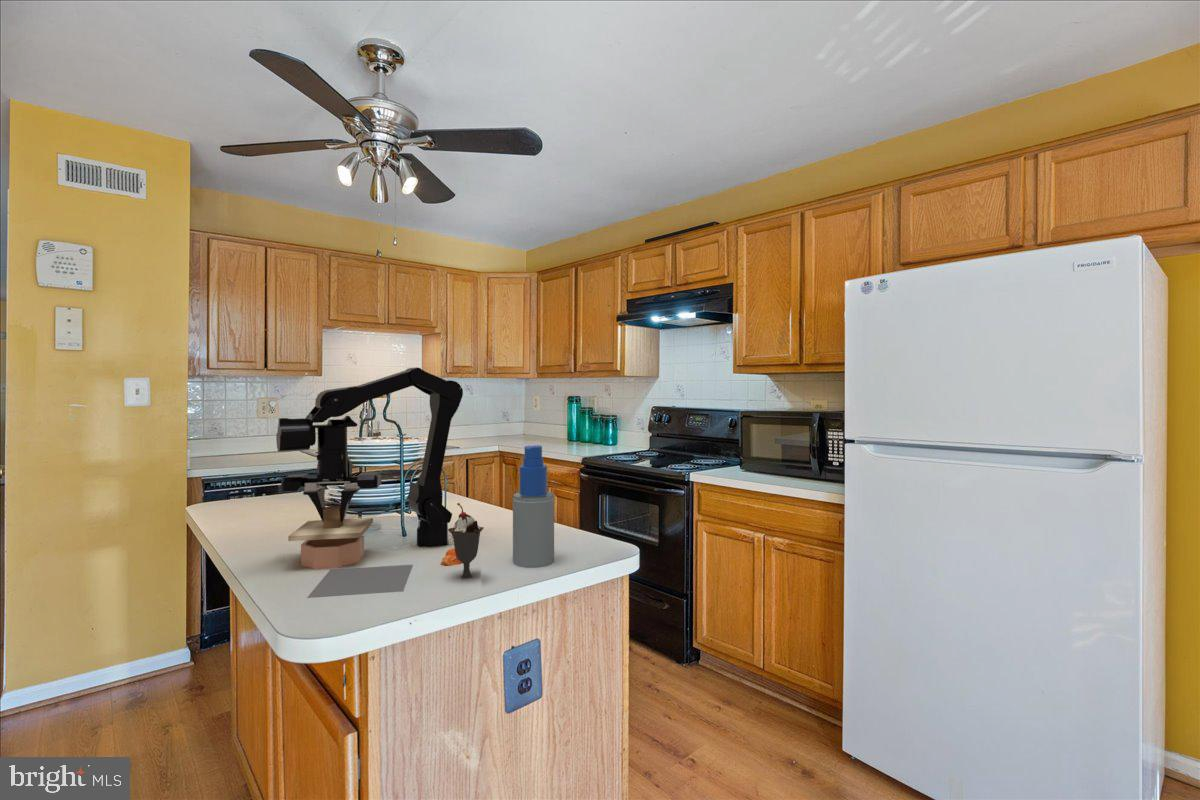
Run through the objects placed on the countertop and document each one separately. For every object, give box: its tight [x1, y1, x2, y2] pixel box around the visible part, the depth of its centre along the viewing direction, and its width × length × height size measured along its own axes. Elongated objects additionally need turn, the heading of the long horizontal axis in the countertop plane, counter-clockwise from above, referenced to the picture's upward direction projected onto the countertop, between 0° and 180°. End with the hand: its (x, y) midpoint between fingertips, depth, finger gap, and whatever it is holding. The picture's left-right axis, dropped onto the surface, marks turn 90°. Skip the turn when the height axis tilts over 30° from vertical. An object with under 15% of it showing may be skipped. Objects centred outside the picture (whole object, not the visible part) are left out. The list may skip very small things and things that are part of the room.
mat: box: [306, 564, 414, 599], centre depth 110 cm, size 16×16×1 cm
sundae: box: [448, 502, 485, 579], centre depth 112 cm, size 7×7×15 cm
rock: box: [440, 548, 463, 567], centre depth 122 cm, size 12×12×4 cm
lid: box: [287, 505, 374, 542], centre depth 123 cm, size 14×14×5 cm
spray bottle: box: [512, 444, 555, 568], centre depth 124 cm, size 9×9×25 cm
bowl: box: [300, 535, 365, 570], centre depth 123 cm, size 12×12×5 cm
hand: (333, 521), depth 123 cm, fingers closed on lid, 3 cm apart
